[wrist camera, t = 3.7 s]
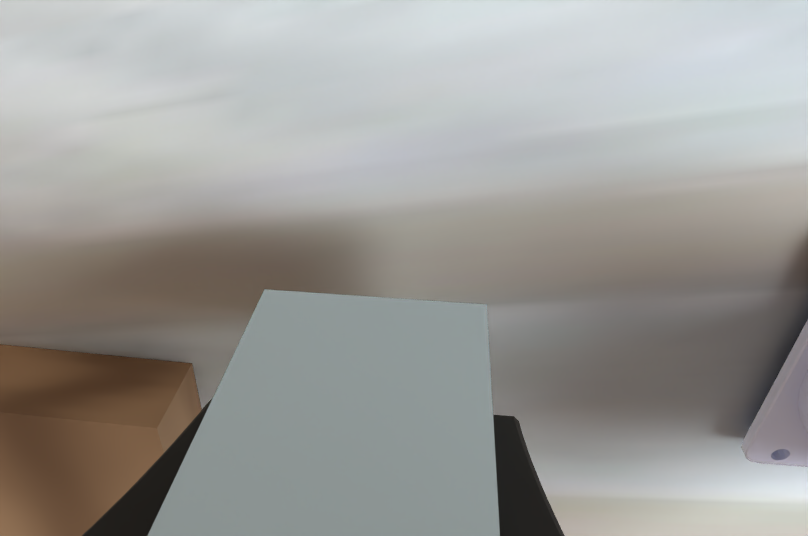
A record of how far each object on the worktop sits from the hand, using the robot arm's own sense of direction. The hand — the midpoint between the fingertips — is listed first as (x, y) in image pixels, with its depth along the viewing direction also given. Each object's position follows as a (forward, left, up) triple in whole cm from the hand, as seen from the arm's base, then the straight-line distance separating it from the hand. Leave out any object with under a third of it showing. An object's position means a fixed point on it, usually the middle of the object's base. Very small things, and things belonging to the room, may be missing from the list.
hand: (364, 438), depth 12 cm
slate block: (0, 0, -2) cm, 2 cm away
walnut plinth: (+10, +7, -6) cm, 14 cm away
